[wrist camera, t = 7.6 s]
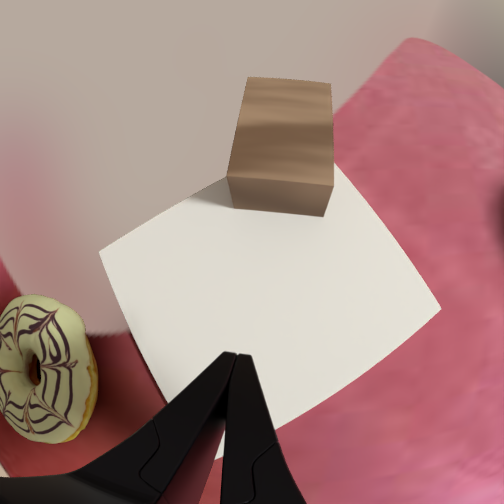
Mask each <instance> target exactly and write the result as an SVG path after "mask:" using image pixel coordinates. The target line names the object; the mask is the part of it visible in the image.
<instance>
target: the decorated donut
mask: <svg viewBox="0 0 504 504" xmlns="http://www.w3.org/2000/svg"><path fill="white" fill-rule="evenodd" d="M85 331H86V329H85V324H84V321H83V319H82V318H81V317H80V315H79V314H78V313H77V312H75V311H74V310H73V309H71V308H70V307H68V306H66V305H64V304H62V303H60V302H58V301H57V300H55V299H53V298H48V297H46V296H42V295H36V294H31V295H23V296H21V297H18V298H15V299H13V300H12V301H11V302H10V303H9V304H8V305H7V307H6V308H5V310H4V312H3V313H2V315H1V317H0V410H1V412H2V413H3V415H4V417H5V418H6V420H7V421H8V422H9V423H10V424H11V426H12V427H13V428H14V429H15V431H17V432H18V433H19V434H21V435H22V436H24V437H26V438H27V439H29V440H32V441H37V442H45V443H50V444H52V443H54V444H56V443H62V442H67V441H70V440H73V439H74V438H75V437H76V436H77V435H78V434H79V433H80V431H81V430H83V429H84V428H85V427H86V425H87V423H88V421H89V419H90V417H91V415H92V413H93V410H94V407H95V404H96V402H97V396H98V369H97V364H96V360H95V357H94V354H93V352H92V349H91V346H90V343H89V341H88V338H87V335H86V333H85ZM37 358H39V360H40V370H41V383H40V381H39V380H38V378H37V365H36V364H37V363H36V362H37Z"/></svg>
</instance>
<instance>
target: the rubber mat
mask: <svg viewBox="0 0 504 504" xmlns="http://www.w3.org/2000/svg"><path fill="white" fill-rule="evenodd" d="M99 255H100V257H101V260H102V263H103V266H104V268H105V271H106V273H107V276H108V278H109V281H110V283H111V286H112V289H113V291H114V294H115V296H116V298H117V301H118V303H119V305H120V308H121V310H122V312H123V315H124V317H125V319H126V321H127V324H128V326H129V328H130V330H131V332H132V335H133V337H134V339H135V341H136V343H137V345H138V347H139V349H140V351H141V353H142V355H143V357H144V359H145V361H146V363H147V365H148V367H149V369H150V371H151V373H152V375H153V377H154V379H155V380H156V382H157V384H158V386H159V388H160V390H161V391H162V393H163V395H164V397H165V399H166V400H167V402H168V403H169V402H170V401H171V400H172V399H173V398H174V397H176V396H177V395H178V394H179V393H180V392H181V391H182V390H183V389H184V388H185V387H186V386H187V385H189V384H190V383H191V382H192V381H193V380H194V379H195V378H196V377H197V376H198V375H199V374H200V373H201V372H202V371H203V370H204V369H205V368H207V367H208V366H209V365H210V364H211V363H212V362H213V361H214V360H215V359H216V358H217V357H218V356H219V355H220V354H221V353H222V352H224V351H228V352H235V353H237V355H238V354H239V353H242V354H250V355H251V356H252V358H253V361H254V364H255V368H256V371H257V374H258V377H259V381H260V384H261V387H262V390H263V394H264V397H265V400H266V403H267V406H268V410H269V413H270V416H271V419H272V422H273V425H274V428H275V429H277V428H279V427H281V426H283V425H284V424H286V423H288V422H290V421H291V420H293V419H295V418H296V417H298V416H300V415H301V414H303V413H305V412H306V411H308V410H310V409H311V408H313V407H314V406H316V405H318V404H319V403H321V402H322V401H324V400H325V399H327V398H328V397H330V396H332V395H333V394H335V393H336V392H338V391H339V390H340V389H342V388H343V387H345V386H346V385H348V384H349V383H351V382H352V381H353V380H355V379H356V378H358V377H359V376H360V375H362V374H363V373H365V372H366V371H367V370H369V369H370V368H371V367H373V366H374V365H375V364H377V363H378V362H379V361H381V360H382V359H383V358H384V357H386V356H387V355H388V354H390V353H391V352H392V351H393V350H395V349H396V348H397V347H398V346H400V345H401V344H402V343H403V342H404V341H406V340H407V339H408V338H409V337H410V336H412V335H413V334H414V333H415V332H416V331H417V330H419V329H420V328H421V327H422V326H423V325H424V324H425V323H427V322H428V321H429V320H430V319H431V318H432V317H433V316H434V315H435V314H436V313H438V312H439V311H440V310H441V307H440V305H439V304H438V302H437V301H436V299H435V297H434V296H433V294H432V293H431V291H430V290H429V288H428V286H427V285H426V283H425V282H424V280H423V279H422V277H421V276H420V274H419V273H418V271H417V270H416V268H415V267H414V265H413V264H412V262H411V261H410V260H409V258H408V257H407V255H406V254H405V252H404V251H403V250H402V248H401V247H400V245H399V244H398V243H397V241H396V240H395V238H394V237H393V236H392V234H391V233H390V232H389V230H388V229H387V228H386V226H385V225H384V224H383V222H382V221H381V220H380V218H379V217H378V216H377V214H376V213H375V212H374V211H373V209H372V208H371V207H370V205H369V204H368V203H367V202H366V200H365V199H364V198H363V197H362V195H361V194H360V193H359V192H358V191H357V189H356V188H355V187H354V186H353V184H352V183H351V182H350V181H349V180H348V178H347V177H346V176H345V175H344V174H343V173H342V171H341V170H340V169H339V168H338V167H337V166H336V164H335V163H334V188H333V191H332V194H331V197H330V200H329V203H328V206H327V209H326V211H325V214H324V217H316V216H306V215H297V214H287V213H276V212H266V211H255V210H243V209H234V207H233V203H232V198H231V194H230V190H229V185H228V181H227V177H225V178H223V179H221V180H219V181H217V182H216V183H213V184H212V185H210V186H208V187H206V188H204V189H202V190H201V191H199V192H197V193H195V194H194V195H192V196H190V197H188V198H186V199H185V200H183V201H181V202H179V203H178V204H176V205H174V206H172V207H171V208H169V209H167V210H165V211H164V212H162V213H160V214H159V215H157V216H155V217H154V218H152V219H150V220H149V221H147V222H145V223H144V224H142V225H140V226H139V227H137V228H136V229H134V230H132V231H131V232H129V233H127V234H126V235H124V236H123V237H121V238H119V239H118V240H116V241H115V242H113V243H112V244H110V245H108V246H107V247H105V248H104V249H102V250H101V251H99ZM224 438H225V431H224V434H223V436H222V439H221V442H220V445H219V448H218V451H217V454H216V456H215V459H218V458H220V457H222V456H223V452H224ZM215 459H214V460H215Z"/></svg>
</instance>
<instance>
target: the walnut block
mask: <svg viewBox="0 0 504 504" xmlns="http://www.w3.org/2000/svg"><path fill="white" fill-rule="evenodd" d="M226 177H227V181H228V185H229V190H230V194H231V198H232V203H233V207H234V209H243V210H255V211H266V212H276V213H287V214H297V215H306V216H316V217H324V214H325V211H326V209H327V206H328V203H329V200H330V197H331V194H332V191H333V188H334V142H333V115H332V96H331V84H329V83H321V82H312V81H303V80H292V79H279V78H278V79H277V78H261V77H260V78H259V77H248V79H247V83H246V87H245V91H244V96H243V100H242V105H241V109H240V114H239V118H238V123H237V128H236V132H235V137H234V142H233V146H232V151H231V156H230V161H229V166H228V171H227V176H226Z"/></svg>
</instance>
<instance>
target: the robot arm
mask: <svg viewBox="0 0 504 504" xmlns="http://www.w3.org/2000/svg"><path fill="white" fill-rule="evenodd" d="M152 419H153V420H152ZM152 419H150V420H149V421H148V422H147V423H146V424H144V425H143V426H142V427H141V428H140V429H139V430H137V431H136V432H135V433H134V434H132V435H131V436H130V437H128V438H127V439H126V440H124V441H123V442H121V443H120V444H118V445H117V446H116V447H114V448H112V449H111V450H109V451H108V452H106V453H105V454H103V455H101V456H100V457H98V458H97V459H95V460H93V461H92V462H90V463H89V464H87V465H85V466H84V467H82V468H80V469H78V470H75V471H72V472H69V473H65V474H59V475H48V476H35V477H11V478H9V477H0V504H198V503H199V501H200V498H201V495H202V493H203V490H204V487H205V484H206V482H207V479H208V476H209V473H210V471H211V468H212V465H213V462H214V459H215V456H216V454H217V451H218V448H219V445H220V442H221V439H222V436H223V434H224V431H225V438H224V452H223V466H222V480H221V495H220V504H307V503H306V501H305V499H304V498H303V496H302V494H301V492H300V490H299V488H298V487H297V485H296V483H295V481H294V479H293V477H292V475H291V473H290V470H289V468H288V466H287V463H286V461H285V458H284V455H283V453H282V450H281V446H280V443H279V442H278V438H277V435H276V432H275V428H274V425H273V422H272V419H271V416H270V413H269V410H268V406H267V403H266V400H265V397H264V394H263V390H262V387H261V384H260V381H259V377H258V374H257V371H256V368H255V364H254V361H253V358H252V356H251V355H250V354H242V353H239V354H238V355H237V353H235V352H228V351H224V352H222V353H221V354H220V355H219V356H218V357H217V358H216V359H215V360H214V361H213V362H212V363H211V364H210V365H209V366H208V367H207V368H205V369H204V370H203V371H202V372H201V373H200V374H199V375H198V376H197V377H196V378H195V379H194V380H193V381H192V382H191V383H190V384H189V385H187V386H186V387H185V388H184V389H183V390H182V391H181V392H180V393H179V394H178V395H177V396H176V397H174V398H173V399H172V400H171V401H170V402H169V403H168V404H167V405H166V406H165V407H164V408H162V409H161V410H160V411H159V412H158V413H157V414H156V415H155V416H154V417H153V418H152Z"/></svg>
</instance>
